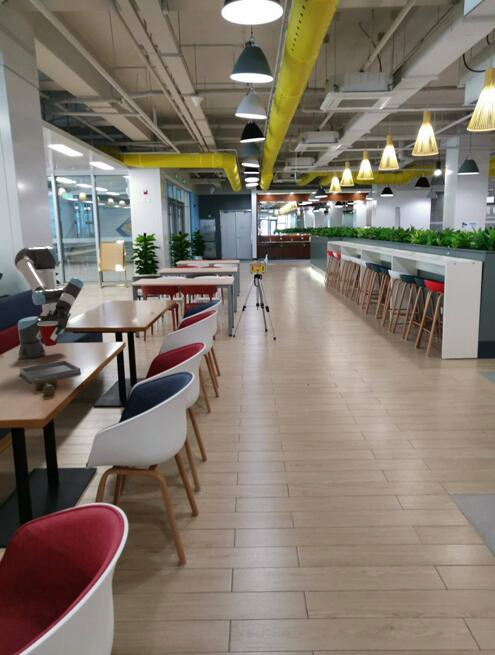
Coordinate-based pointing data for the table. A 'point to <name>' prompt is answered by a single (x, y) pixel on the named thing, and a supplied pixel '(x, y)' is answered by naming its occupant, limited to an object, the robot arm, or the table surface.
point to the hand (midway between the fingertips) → (45, 338)
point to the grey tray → (49, 371)
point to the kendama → (46, 385)
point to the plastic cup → (48, 331)
